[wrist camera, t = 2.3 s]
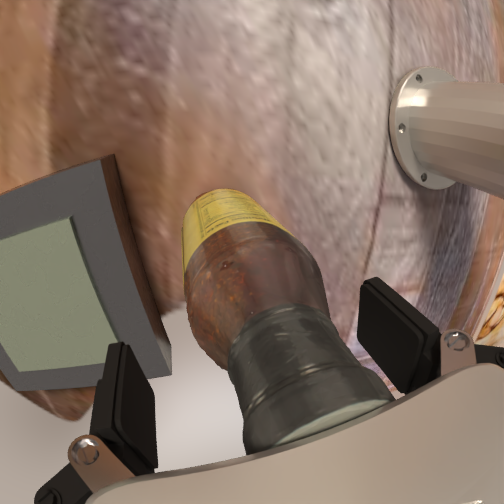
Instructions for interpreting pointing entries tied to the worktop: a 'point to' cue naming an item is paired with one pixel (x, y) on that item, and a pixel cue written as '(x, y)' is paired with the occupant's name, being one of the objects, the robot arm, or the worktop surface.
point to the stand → (73, 281)
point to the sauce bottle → (269, 323)
